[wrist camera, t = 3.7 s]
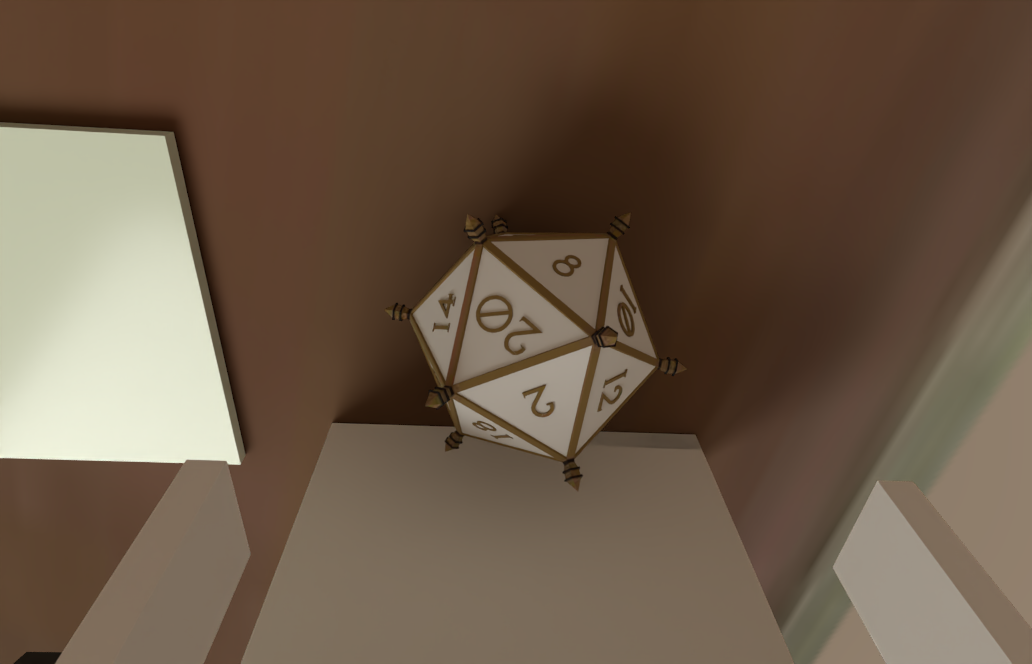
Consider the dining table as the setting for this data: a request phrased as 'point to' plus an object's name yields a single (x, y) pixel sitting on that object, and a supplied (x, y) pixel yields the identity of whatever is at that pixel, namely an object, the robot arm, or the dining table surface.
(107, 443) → the tile
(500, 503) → the screen
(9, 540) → the dining table surface
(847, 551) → the robot arm
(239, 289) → the dining table surface
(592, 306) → the game die
